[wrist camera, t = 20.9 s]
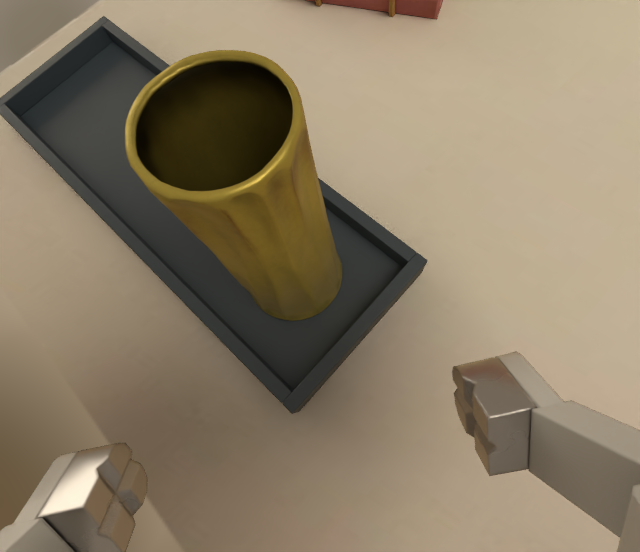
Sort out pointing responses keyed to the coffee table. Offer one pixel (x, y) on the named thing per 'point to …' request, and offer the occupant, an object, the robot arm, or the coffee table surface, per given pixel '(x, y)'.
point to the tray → (177, 240)
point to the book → (393, 6)
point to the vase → (239, 175)
